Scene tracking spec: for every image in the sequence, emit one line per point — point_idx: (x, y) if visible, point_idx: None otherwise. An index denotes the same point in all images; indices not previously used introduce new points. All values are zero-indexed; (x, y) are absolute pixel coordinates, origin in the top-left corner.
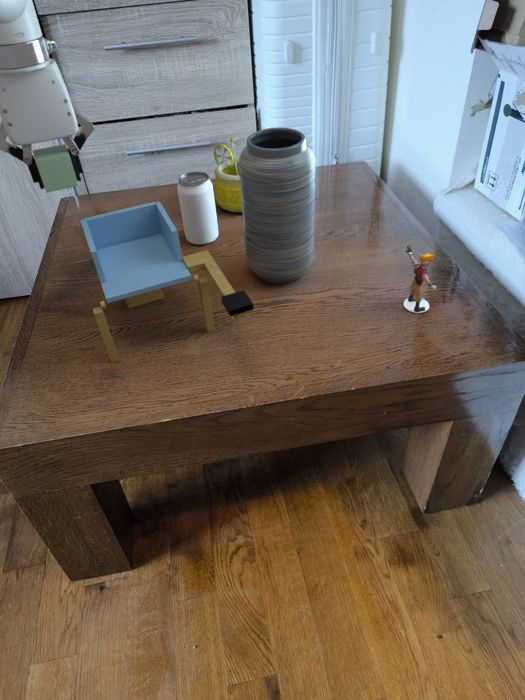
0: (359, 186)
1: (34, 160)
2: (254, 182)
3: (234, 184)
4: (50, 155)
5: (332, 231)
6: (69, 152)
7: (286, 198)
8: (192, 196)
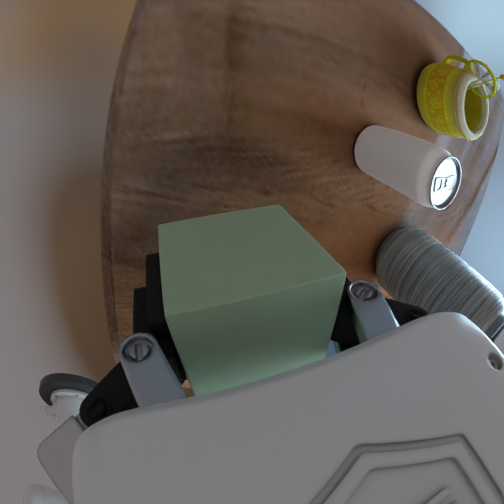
0: (491, 143)
1: (178, 360)
2: None
3: (457, 130)
4: (259, 374)
5: (450, 205)
6: (330, 339)
7: None
8: (419, 203)
